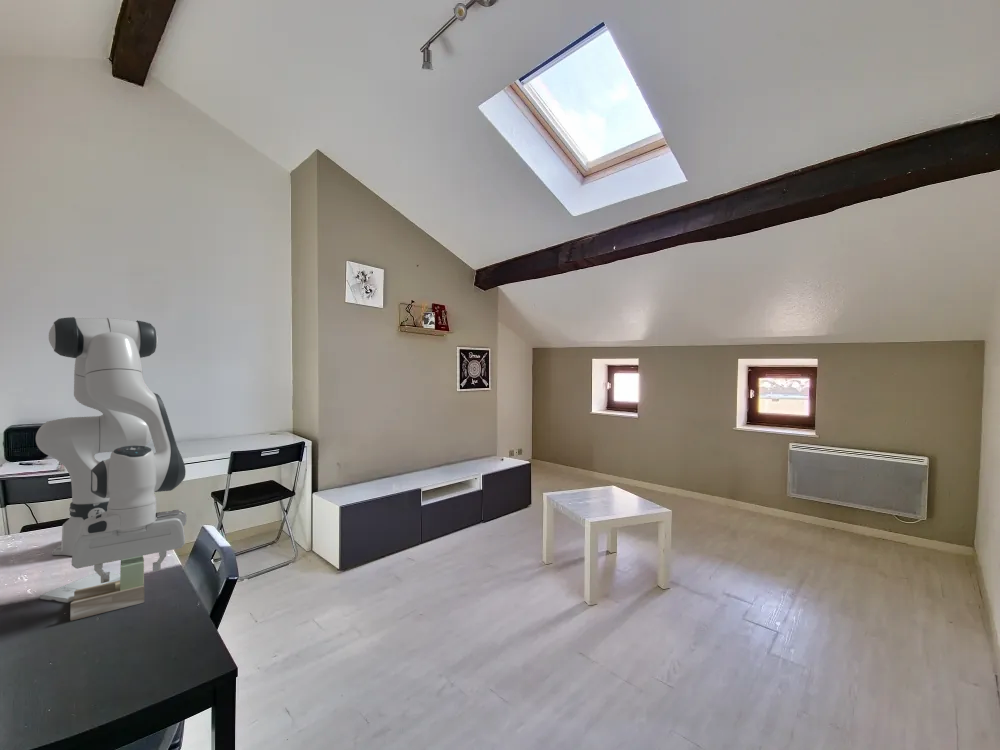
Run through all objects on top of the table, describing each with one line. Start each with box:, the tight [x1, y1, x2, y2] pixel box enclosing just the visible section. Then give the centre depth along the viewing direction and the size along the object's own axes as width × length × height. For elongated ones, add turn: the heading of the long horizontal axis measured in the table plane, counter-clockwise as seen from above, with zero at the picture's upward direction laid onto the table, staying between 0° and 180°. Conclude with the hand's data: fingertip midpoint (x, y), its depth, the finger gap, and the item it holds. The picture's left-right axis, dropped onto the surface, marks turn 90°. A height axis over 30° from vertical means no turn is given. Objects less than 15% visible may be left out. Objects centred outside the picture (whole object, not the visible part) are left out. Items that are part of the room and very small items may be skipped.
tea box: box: [119, 555, 145, 591], centre depth 103 cm, size 4×6×6 cm, turn 40°
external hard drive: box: [39, 571, 120, 604], centre depth 106 cm, size 2×8×12 cm
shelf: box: [69, 580, 145, 622], centre depth 100 cm, size 12×12×4 cm
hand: (131, 575), depth 103 cm, fingers open, 8 cm apart
